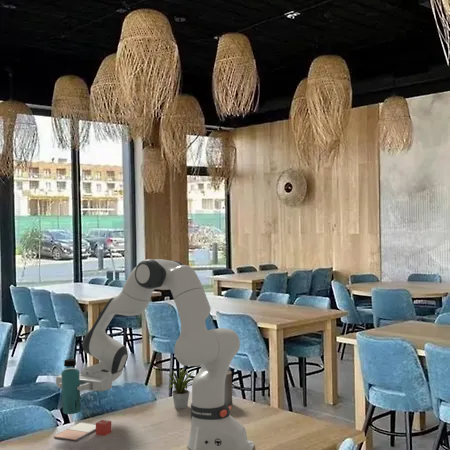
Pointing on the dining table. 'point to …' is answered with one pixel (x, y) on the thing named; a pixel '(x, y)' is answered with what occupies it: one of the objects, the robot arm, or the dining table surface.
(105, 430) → the red die
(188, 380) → the house plant
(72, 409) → the beverage bottle
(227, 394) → the pillar candle
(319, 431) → the dining table surface
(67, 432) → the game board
